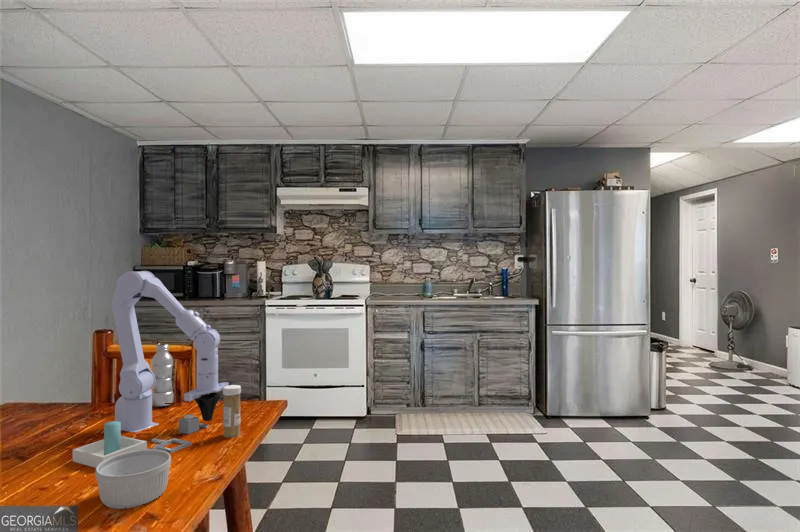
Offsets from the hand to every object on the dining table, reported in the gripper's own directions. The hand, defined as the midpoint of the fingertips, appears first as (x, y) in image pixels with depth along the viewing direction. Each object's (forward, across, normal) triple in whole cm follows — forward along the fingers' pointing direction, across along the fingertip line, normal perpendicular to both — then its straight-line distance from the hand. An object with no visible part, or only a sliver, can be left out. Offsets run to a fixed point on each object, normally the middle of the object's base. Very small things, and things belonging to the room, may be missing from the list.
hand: (207, 420), depth 140 cm
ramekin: (+2, -38, -19) cm, 42 cm away
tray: (+2, -26, +4) cm, 27 cm away
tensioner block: (+2, -21, -5) cm, 21 cm away
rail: (+2, -9, 0) cm, 9 cm away
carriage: (+1, -6, 0) cm, 7 cm away
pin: (+1, -26, +3) cm, 27 cm away
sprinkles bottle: (+2, -4, -12) cm, 13 cm away
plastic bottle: (+2, +9, +28) cm, 30 cm away
